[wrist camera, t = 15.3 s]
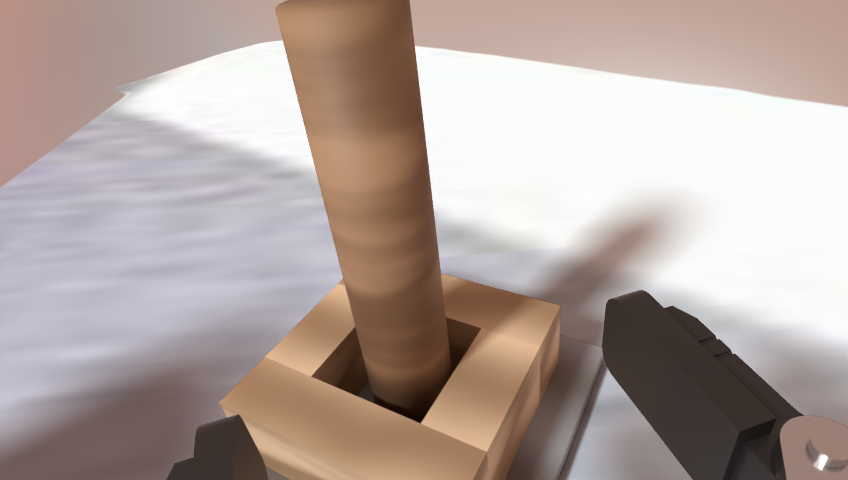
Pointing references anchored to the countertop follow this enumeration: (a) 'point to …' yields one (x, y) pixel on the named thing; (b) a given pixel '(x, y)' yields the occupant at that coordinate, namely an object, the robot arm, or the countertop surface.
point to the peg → (375, 186)
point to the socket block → (452, 410)
